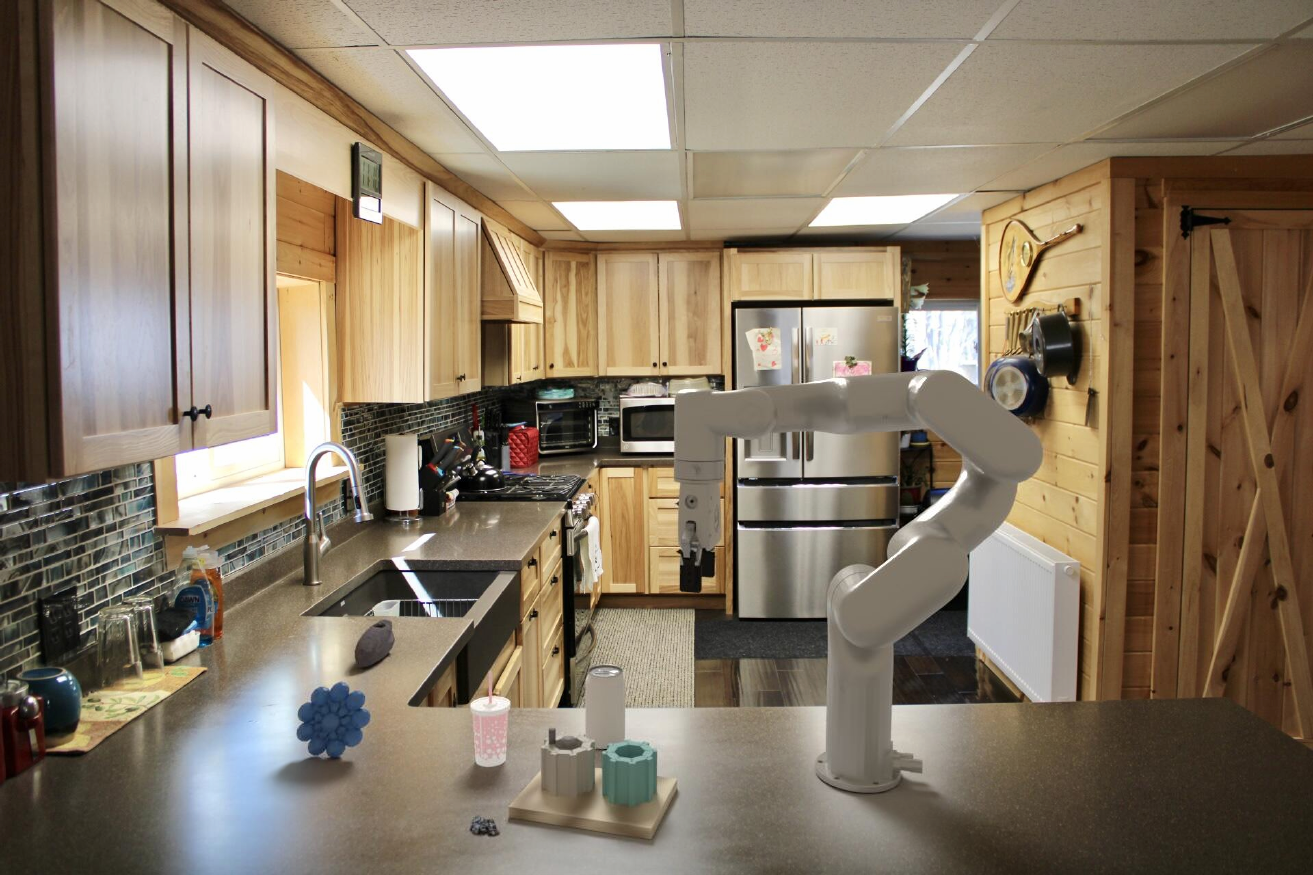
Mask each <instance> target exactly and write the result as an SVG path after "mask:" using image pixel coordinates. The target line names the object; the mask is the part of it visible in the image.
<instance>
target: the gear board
mask: <svg viewBox="0 0 1313 875" xmlns="http://www.w3.org/2000/svg"><path fill="white" fill-rule="evenodd" d="M677 790H678V778H673V777H667V776H659V775H657V793H653V800H652V801H651V802H649V803H648V802H642V803H639V804H636V806H635V807H629V805H626V804H619V803H616V804H615V805H614V804H611V803H609V798H608V797H607V796H602V767H595V783H593V790H591V791H590V792H583V793H580V794H578V795H577V797H573V798H570V796H559V795H558V796H556V797H554V796H550V792H549V791H548V790H546V789H545V790H542V788H541V769H540V770H539V772H538V773H537V774H536V775H535V776H534V777H533V778H532V779H531V781H529V783H528V784H527V785H526V786H525V787H524V788H523V790H522V791H521V792H520V793H519V794H518V795H517V796H516V798H515V799H513V801H512V802H511V803H510V804H509V806H508V807H507V808H508V818H509V819H517V820H523V821H530V822H536V823H542V824H549V825H554V826H562V827H568V828H573V829H580V830H588V831H592V832H593V831H594V832H600V833H605V834H606V833H607V834H613V835H619V836H625V837H631V838H638V839H645V840H652V839H653V836H654V835H655V833H656V831H657V830H658V827H659V825H660V823H661V822H662V819H663V817H664V815H665V813H666V811H667V809H668V807H669V806H670V804H671V802H672V800H673V798H674V796H675V793H676V792H677Z"/></svg>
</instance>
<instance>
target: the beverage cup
mask: <svg viewBox="0 0 1313 875" xmlns="http://www.w3.org/2000/svg"><path fill="white" fill-rule="evenodd" d="M510 710H511V700H509V699H508V698H507V697H503V696H497V695H495V696H493V671H490V670H489V671H488V696H483V697H480V698H479V697H478V698H477V699H475V700H473V701H472V702H470V712H471V714H472V727H473V728H472V729H473V739H474V742H473V743H474V753H475V754H474V756H475V763H476V764H477V765H478V766H480V767H486V768H489V767H490V768H491V767H496V766H497V767H498V766H500V765H502V764H504V763H505V762H506V758H507V741H508V725H509V724H508V723H509V711H510Z"/></svg>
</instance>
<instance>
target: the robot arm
mask: <svg viewBox="0 0 1313 875" xmlns="http://www.w3.org/2000/svg"><path fill="white" fill-rule="evenodd" d="M673 414H674V416H673V417H674V422H673V423H674V424H673V427H674V428H673V429H674V430H673V432H674V434H673V435H674V436H673V437H674V438H673V446H674V448H673V482H675V483H678V484H679V491H678V492H679V493H678V509H677V510H678V513H677V514H678V515H677V542H678V547H679V548H680V549H681V551H680V552H679V553H680V557H679V591H680V592H682V593H694V594H700V593H701V592H702V591H703V589H702V588H703V587H702V586H703V578H711V579H712V578H714V577H715V575H716V551H715V548H716V546H717V544H719V542H720V541H721V540H722V535H723V534H722V506H721V503H722V502H721V484H723V483H724V482H725V439H726V438H733V439H734V438H735V439H740V440H746V441H747V440H749V441H753V440H759V439H762V438H764V437H766V436H767V435H768V434H779V433H780V434H781V433H797V432H821V433H828V434H833V435H862V434H872V433H874V434H875V433H887V432H888V433H889V432H890V433H891V432H902V431H915V430H916V431H917V430H930V431H931V432H933V433H934V434H935V435H936V436H937V437H939V438H940V439H941V440H942V441H943V442H945V444H947V445H948V446H949V447H950V448H952V450H955V451H956V452H957V453H958V454H959V455H961V464H962V465H961V470H960V474H959V476H958V479H957V480H956V482H955V483H954V485H953V486H952V487H951V488H950V489H949V490H948V491H947V492H946V493H944V495H942V496H941V497H940V498H939V499H938V500H937V501H935V502H934V503H933V504H932V505H931V506H929V507H928V508H927V509H926V510H924V511H923V512H922V513H920V514H919V515H918V516H917V517H915V518H914V519H913V520H910V521H909V522H908V523H907V524H905V525H904V526H902V527H901V528H900V529H899V530H897V532H895V533H894V535H893V536H892V537H891V538H890V540H889V542H888V545H887V549H886V555H887V560H885V562H883V563H882V564H881V565H880V566H878V567H877V568H875V567H873V566H871V565H868V564H862V563H856V564H850V565H848V566H845V567H843V568H842V569H840V570H839V571H838V572H837V573H835V575H834V576H833V578H832V579H831V581H830V584H829V587H828V589H827V596H826V614H827V669H826V670H827V671H826V677H827V678H826V713H825V714H826V715H825V716H826V719H825V726H826V727H825V751H824V752H822V753H820V754H819V755H818V756H817V757H816V758H815V760H814V772H815V773H816V775H817V776H818V778H820V780H822V781H824V782H825V783H826V784H828V785H830V786H832V787H835V788H838V789H840V790H845V791H848V792H852V793H853V792H854V793H863V794H866V793H868V794H869V793H870V794H871V793H872V794H873V793H881V792H885V791H889V790H891V789H894V788H895V787H897V785H898V784H899V783H900V782H901V779H902V778H901V777H902V776H901V775H902V774H901V771H902V772H903V771H904V772H910V773H912V774H913V773H914V774H923V766H924V764H923V763H924V762H923V759H919V758H914V753H910V752H899V751H898V749H894V740H892V716H893V715H892V714H893V685H894V683H893V678H894V644H895V643H897V641H900V640H901V639H902V638H904V637H905V636H907V635H908V634H909V633H911V632H912V631H913V630H914V629H915V628H917V627H918V626H920V625H921V624H922V623H924V621H926V620H928V618H930V617H932V615H934V614H935V613H936V612H938V611H939V610H940V609H942V608H943V607H944V606H946V605H947V604H948V603H949V602H950V601H952V600H953V599H954V598H955V597H956V596H957V595H958V594H959V593H960V591H961V590H962V588H963V586H964V585H965V583H966V581H967V579H968V576H969V569H970V564H969V557H968V555H969V554H970V553H971V552H973V551H974V550H975V549H976V548H978V547H979V546H980V545H981V544H982V543H983V542H984V541H985V540H987V539H988V538H989V537H990V536H992V535H993V534H994V533H995V531H997V530H998V529H999V528H1000V527H1001V526H1002V525H1003V523H1004V522H1005V521H1006V519H1007V518H1008V517H1009V515H1010V514H1011V510H1012V509H1013V507H1014V504H1015V501H1016V496H1017V493H1018V487H1019V484H1020V483H1023V482H1025V481H1028V480H1029V479H1031V478H1032V477H1033V476H1034V475H1035V474H1036V473H1037V472H1038V471H1039V469H1040V468H1041V466H1042V463H1043V461H1044V460H1043V458H1044V448H1043V445H1042V444H1043V443H1042V441H1041V439H1040V437H1039V436H1038V434H1037V433H1036V432H1035V431H1034V430H1033V429H1032V428H1031V426H1029V425H1028V424H1026V423H1025V422H1024V421H1023V420H1022V419H1020V418H1019V417H1018V416H1017V415H1015V414H1014V413H1012V412H1011V411H1009V410H1008V409H1007V408H1006V407H1005V406H1003V405H1001V403H999V402H997V401H996V400H995V399H993V398H992V397H991V396H990V395H989V394H987V393H986V392H985V391H983V390H982V389H981V388H979V386H977V385H976V384H974V383H973V382H972V381H971V380H970V379H968V378H966V377H965V376H964V375H962V374H960V373H958V372H956V371H953V370H950V369H949V370H948V369H932V370H931V369H930V370H929V369H927V370H926V369H925V370H914V371H903V372H901V371H900V372H892V373H891V372H890V373H889V372H888V373H879V374H864V375H849V376H841V377H833V378H829V379H824V380H819V381H811V382H804V383H791V384H779V385H766V386H751V387H750V386H749V387H745V388H741V389H736V390H725V391H724V390H723V391H721V390H718V389H713V388H712V389H711V388H710V389H709V388H686V389H681V390H679V391H677V393H676V394H675V397H674V413H673ZM725 437H726V438H725Z"/></svg>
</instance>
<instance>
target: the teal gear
mask: <svg viewBox="0 0 1313 875" xmlns="http://www.w3.org/2000/svg"><path fill="white" fill-rule="evenodd" d="M601 751H602V752H601V759H602V760H601V769H602V796H607V797H608V798H609V803H611V804H614V805H615V804H616V803H619V804H626V805H629V807H635V806H636V804H639V803H642V802H648V803H649V802H651V801H652V800H653V793H657V776H658V750H657V748H652V747H651V746H650V742H647V741H642V742H640V741H634V740H631V739H625V740H624V742H620V743H615V744H613V743H610V744H608V745H607V750H601Z"/></svg>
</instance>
